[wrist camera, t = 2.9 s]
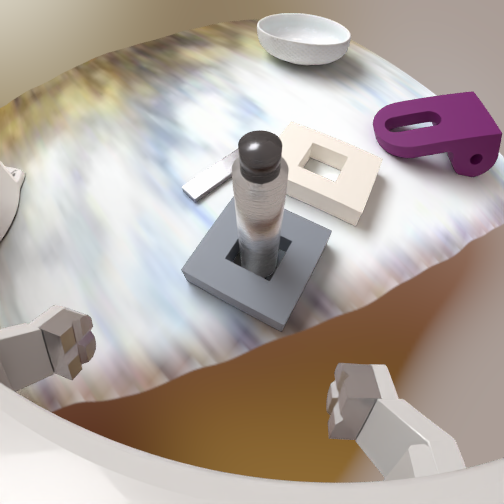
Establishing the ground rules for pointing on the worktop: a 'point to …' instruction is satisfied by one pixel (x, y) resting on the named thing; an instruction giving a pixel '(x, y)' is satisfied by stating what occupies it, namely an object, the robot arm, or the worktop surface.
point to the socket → (247, 283)
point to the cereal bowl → (303, 38)
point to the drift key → (211, 178)
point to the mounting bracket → (442, 131)
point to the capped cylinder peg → (259, 200)
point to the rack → (320, 188)
